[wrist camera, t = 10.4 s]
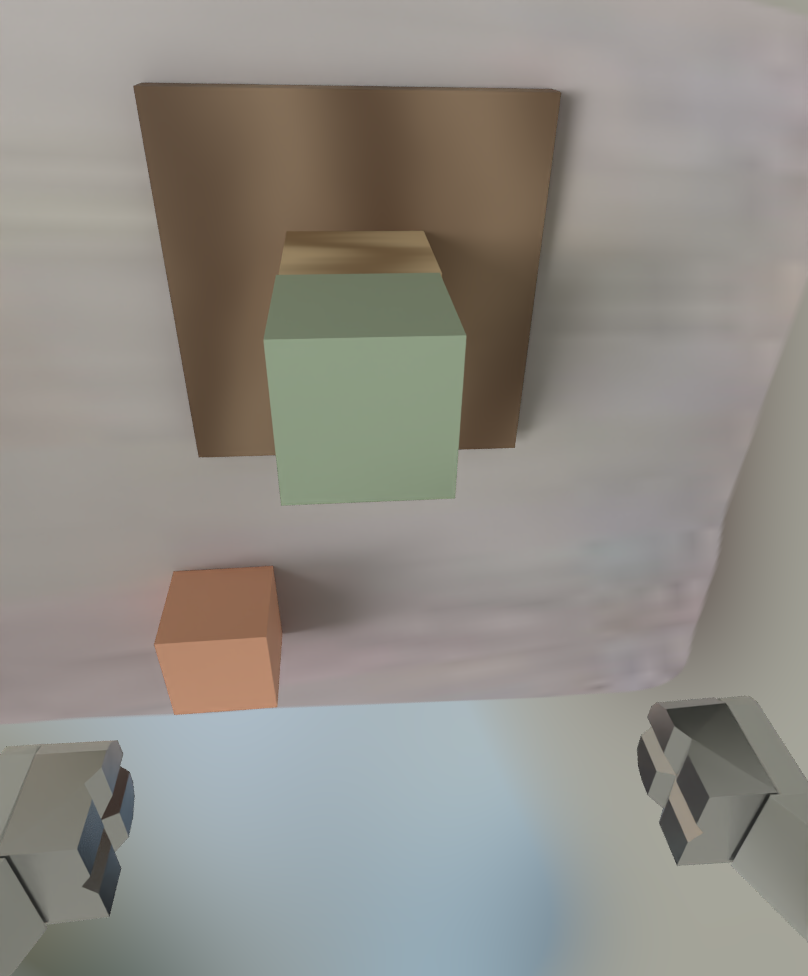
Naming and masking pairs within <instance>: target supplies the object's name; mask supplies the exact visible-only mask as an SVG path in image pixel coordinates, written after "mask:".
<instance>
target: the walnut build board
mask: <svg viewBox="0 0 808 976" xmlns="http://www.w3.org/2000/svg"><path fill="white" fill-rule="evenodd" d="M133 87H134V93H135V98H136V104H137V110H138V115H139V121H140V127H141V132H142V138H143V144H144V149H145V155H146V161H147V166H148V172H149V178H150V183H151V189H152V195H153V200H154V206H155V212H156V217H157V223H158V229H159V234H160V240H161V246H162V251H163V257H164V263H165V268H166V274H167V280H168V286H169V291H170V297H171V303H172V308H173V314H174V320H175V325H176V331H177V337H178V342H179V348H180V354H181V359H182V365H183V371H184V376H185V382H186V388H187V393H188V399H189V405H190V410H191V416H192V422H193V427H194V433H195V439H196V444H197V450H198V456H199V457H230V456H263V455H276V453H275V443H274V434H273V425H272V415H271V406H270V397H269V387H268V378H267V369H266V359H265V350H264V341H263V339H264V334H265V329H266V324H267V318H268V313H269V308H270V303H271V298H272V293H273V288H274V282H275V277H276V275H307V274H381V273H440V275H441V277H442V279H443V282H444V284H445V286H446V289H447V291H448V293H449V296H450V298H451V300H452V303H453V305H454V307H455V310H456V312H457V314H458V317H459V319H460V321H461V324H462V326H463V328H464V331H465V333H466V349H465V363H464V377H463V391H462V406H461V420H460V434H459V448H458V450H459V449H492V448H515V442H516V434H517V427H518V419H519V411H520V404H521V396H522V388H523V381H524V373H525V365H526V358H527V350H528V342H529V335H530V327H531V319H532V312H533V304H534V296H535V289H536V281H537V274H538V266H539V258H540V251H541V243H542V235H543V228H544V220H545V212H546V205H547V197H548V189H549V182H550V174H551V166H552V159H553V151H554V144H555V136H556V128H557V121H558V113H559V105H560V98H561V92H559V91H556V90H553V89H518V88H453V87H387V86H322V85H257V84H191V83H140V84H137V85H135V86H133Z"/></svg>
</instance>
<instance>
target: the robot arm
mask: <svg viewBox="0 0 808 976" xmlns="http://www.w3.org/2000/svg"><path fill="white" fill-rule="evenodd" d="M648 720H649V722H650V724H651V726H652V727H650V728H649V729H648V730H647V731H645V732H644V733H643V734H641V737H640V740H639V744H638V747H637V756H638V767H639V772H640V776H641V779H642V782H643V785H644V787H645V790H646V792H647V795H648V796H649V797H651V798H652V799H653V800H654V801H655V802H656V803H657V804H659V805H660V806H661V807H662V808H663V810H662V814H661V817H660V821H659V824H660V826H661V829H662V831H663V833H664V836H665V838H666V840H667V843H668V845H669V848H670V850H671V852H672V855H673V857H674V860H675V862H676V864H677V866H680V865H695V864H712V863H728V862H732V864H731V866H732V867H733V868H734V869H735V870H736V871H737V872H738V873H739V874H740V875H741V876H742V877H743V878H744V879H745V880H746V881H747V882H748V883H749V884H750V885H751V886H752V887H753V888H754V889H755V890H756V891H757V892H758V893H759V894H760V895H761V896H762V897H763V898H764V899H765V900H766V901H767V902H768V903H769V904H770V905H771V906H772V907H773V908H774V909H775V910H776V911H777V912H778V913H779V914H780V915H781V916H782V917H783V918H784V919H785V920H786V921H787V922H788V923H789V924H790V925H791V926H792V927H793V928H794V929H795V930H796V931H797V932H798V933H799V934H800V935H801V936H802V937H803V938H804V939H805V940H806V941H807V942H808V781H807V779H806V777H805V776H804V774H803V773H802V771H801V770H800V768H799V767H798V765H797V763H796V762H795V760H794V759H793V757H792V756H791V754H790V753H789V751H788V749H787V748H786V746H785V745H784V743H783V741H782V740H781V738H780V737H779V735H778V734H777V732H776V730H775V729H774V727H773V726H772V724H771V723H770V721H769V720H768V718H767V716H766V715H765V713H764V712H763V710H762V708H761V707H760V705H759V704H758V702H757V701H755V700H754V699H753V698H752V697H750V696H738V697H728V698H717V699H716V698H703V699H691V700H680V701H667V702H657V703H655V704H654V705H653V706H651V709H650V711H649V714H648ZM122 757H123V752H122V750H121V747H120V745H119V742H118V740H116V741H97V742H80V743H79V742H78V743H59V744H37V745H22V746H8V747H7V746H6V748H5V749H4V750H3V751H2V752H1V754H0V976H11V975H12V973H13V972H14V971H15V969H16V968H17V967H18V965H19V964H20V963H21V962H22V960H23V959H24V958H25V956H26V955H27V953H28V952H29V951H30V950H31V948H32V947H33V946H34V945H35V943H36V942H37V941H38V939H39V938H40V937H41V936H42V934H43V933H44V932H45V930H46V929H47V927H46V924H54V923H63V922H71V921H80V920H88V919H97V918H104V917H110V913H111V909H112V905H113V901H114V896H115V892H116V888H117V884H118V880H119V876H120V872H121V866H120V864H119V861H118V859H117V856H116V854H115V851H117V849H118V848H119V847H120V846H121V845H122V844H123V843H124V842H125V840H127V838H128V837H129V833H130V829H131V824H132V820H133V812H134V797H135V795H134V786H133V780H132V777H131V774H130V772H129V771H127V770H126V769H124V768H122V767H121V766H120V765H121V761H122Z"/></svg>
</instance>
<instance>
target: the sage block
mask: <svg viewBox="0 0 808 976" xmlns="http://www.w3.org/2000/svg"><path fill="white" fill-rule="evenodd" d="M263 341H264V350H265V359H266V369H267V378H268V387H269V397H270V406H271V415H272V425H273V434H274V443H275V453H276V462H277V471H278V481H279V490H280V499H281V506H283V505H307V504H332V503H356V502H380V501H405V500H429V499H453V498H455V491H456V477H457V463H458V448H459V434H460V420H461V406H462V391H463V377H464V363H465V349H466V333H465V331H464V328H463V326H462V324H461V321H460V319H459V317H458V314H457V312H456V310H455V307H454V305H453V303H452V300H451V298H450V296H449V293H448V291H447V289H446V286H445V284H444V282H443V279H442V277H441V275H440V273H381V274H307V275H276V277H275V282H274V288H273V293H272V298H271V303H270V308H269V313H268V318H267V324H266V329H265V334H264V339H263Z"/></svg>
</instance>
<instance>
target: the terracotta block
mask: <svg viewBox="0 0 808 976" xmlns="http://www.w3.org/2000/svg"><path fill="white" fill-rule="evenodd" d="M154 646H155V649H156V653H157V656H158V660H159V663H160V667H161V670H162V673H163V677H164V680H165V684H166V687H167V691H168V694H169V697H170V701H171V704H172V708H173V711H174V715H178V714H192V713H205V712H219V711H232V710H246V709H259V708H273V707H277V704H278V689H279V675H280V660H281V646H282V628H281V621H280V613H279V606H278V599H277V592H276V584H275V577H274V570H273V566H262V567H244V568H227V569H209V570H191V571H174V572H173V576H172V580H171V583H170V587H169V591H168V594H167V598H166V602H165V606H164V609H163V613H162V617H161V620H160V624H159V628H158V632H157V635H156V639H155V643H154Z"/></svg>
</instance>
